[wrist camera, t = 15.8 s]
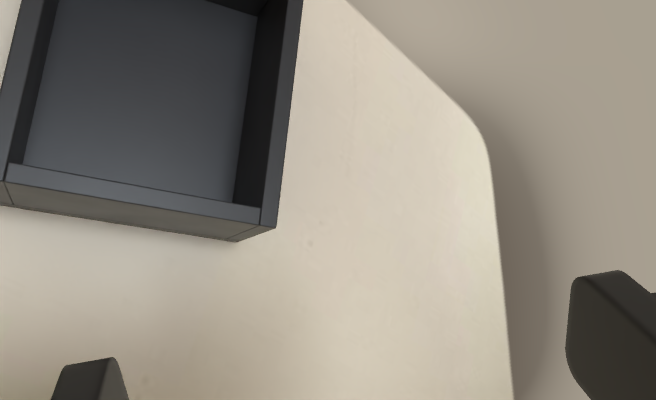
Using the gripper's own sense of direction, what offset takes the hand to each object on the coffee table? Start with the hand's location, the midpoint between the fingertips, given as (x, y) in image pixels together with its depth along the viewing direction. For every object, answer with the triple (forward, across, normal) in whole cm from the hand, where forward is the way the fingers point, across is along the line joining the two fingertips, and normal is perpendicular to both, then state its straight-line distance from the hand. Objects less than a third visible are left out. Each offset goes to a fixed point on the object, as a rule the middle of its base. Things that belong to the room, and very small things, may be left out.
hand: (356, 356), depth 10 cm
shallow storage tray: (+24, +6, 0) cm, 24 cm away
